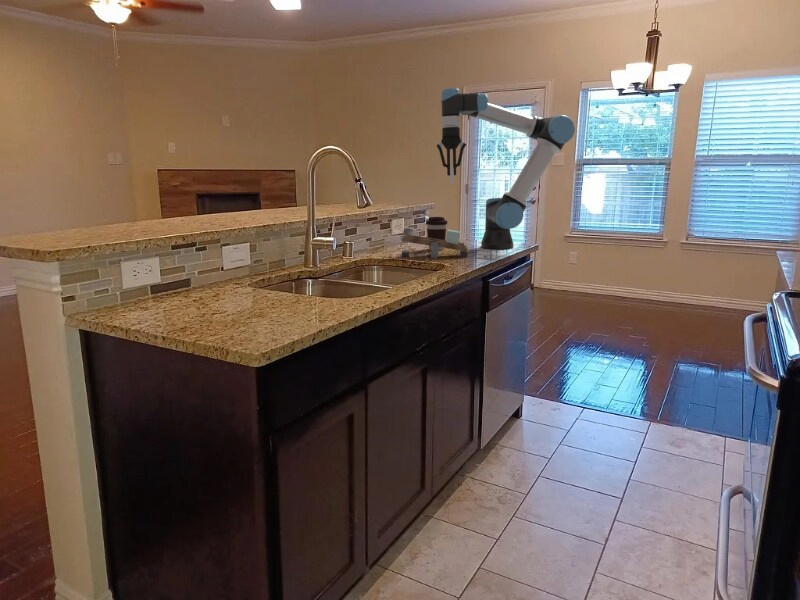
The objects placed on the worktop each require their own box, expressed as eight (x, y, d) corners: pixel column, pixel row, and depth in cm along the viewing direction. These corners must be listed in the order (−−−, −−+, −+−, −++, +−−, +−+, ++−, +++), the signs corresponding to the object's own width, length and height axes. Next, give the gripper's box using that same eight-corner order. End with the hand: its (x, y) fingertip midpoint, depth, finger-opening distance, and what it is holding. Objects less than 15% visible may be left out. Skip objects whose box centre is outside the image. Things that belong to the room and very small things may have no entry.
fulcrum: (466, 254, 248) (466, 238, 247) (467, 258, 237) (467, 242, 235) (403, 254, 250) (402, 238, 248) (401, 258, 238) (401, 242, 237)
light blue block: (456, 245, 244) (459, 231, 242) (457, 246, 239) (459, 232, 238) (445, 243, 244) (447, 229, 242) (445, 244, 239) (448, 230, 238)
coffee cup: (423, 250, 259) (423, 218, 256) (428, 247, 269) (428, 216, 265) (444, 251, 257) (444, 218, 253) (449, 248, 266) (449, 216, 262)
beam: (465, 248, 246) (467, 235, 245) (466, 251, 238) (469, 238, 236) (402, 239, 247) (404, 226, 245) (401, 241, 238) (403, 228, 237)
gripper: (465, 126, 243) (465, 182, 249) (435, 128, 243) (436, 183, 249) (467, 125, 236) (467, 182, 241) (436, 127, 236) (437, 184, 242)
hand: (451, 183), depth 245 cm, fingers closed
